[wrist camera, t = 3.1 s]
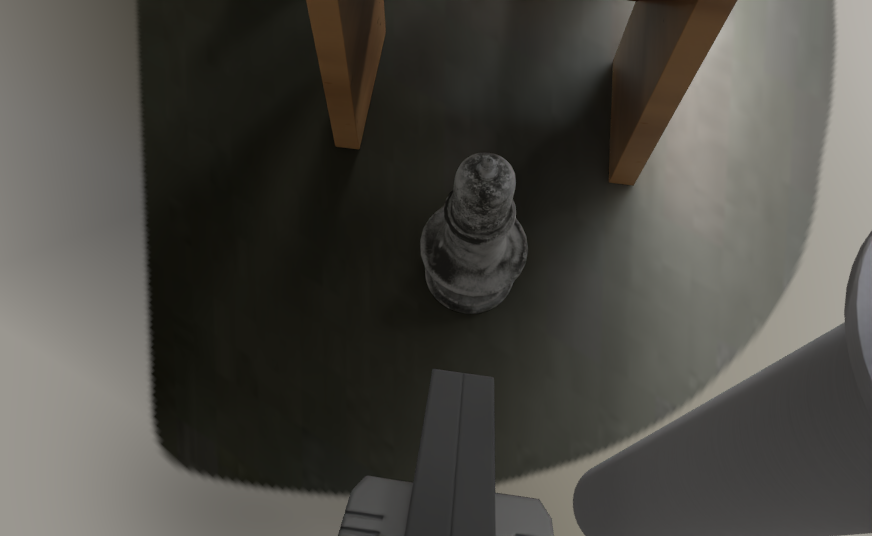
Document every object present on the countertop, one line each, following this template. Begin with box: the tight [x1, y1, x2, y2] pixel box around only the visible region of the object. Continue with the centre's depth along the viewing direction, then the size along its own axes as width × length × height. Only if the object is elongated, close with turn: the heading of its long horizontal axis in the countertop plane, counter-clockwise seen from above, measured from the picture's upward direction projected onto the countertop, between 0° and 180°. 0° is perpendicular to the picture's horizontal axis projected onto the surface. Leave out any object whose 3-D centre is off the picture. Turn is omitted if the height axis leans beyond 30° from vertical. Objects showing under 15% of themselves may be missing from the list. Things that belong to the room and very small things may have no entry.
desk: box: [306, 0, 737, 185], centre depth 37 cm, size 10×21×17 cm, turn 82°
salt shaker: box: [420, 152, 528, 314], centre depth 34 cm, size 6×6×12 cm
